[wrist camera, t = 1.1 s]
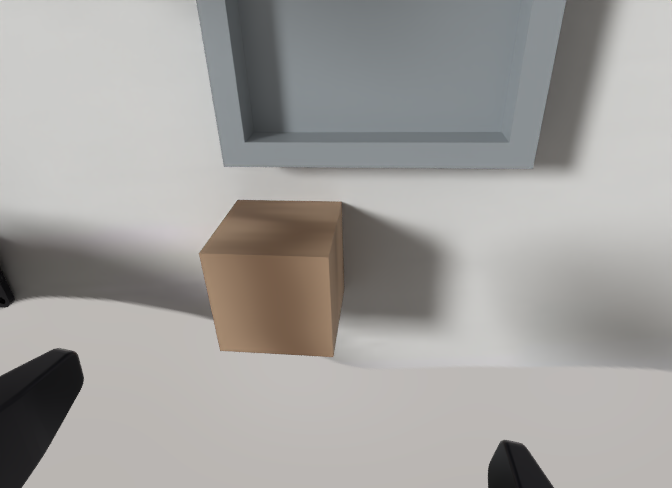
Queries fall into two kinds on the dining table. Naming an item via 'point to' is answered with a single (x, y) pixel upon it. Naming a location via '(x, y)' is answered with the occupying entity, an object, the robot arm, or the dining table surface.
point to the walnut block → (276, 277)
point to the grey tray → (380, 81)
